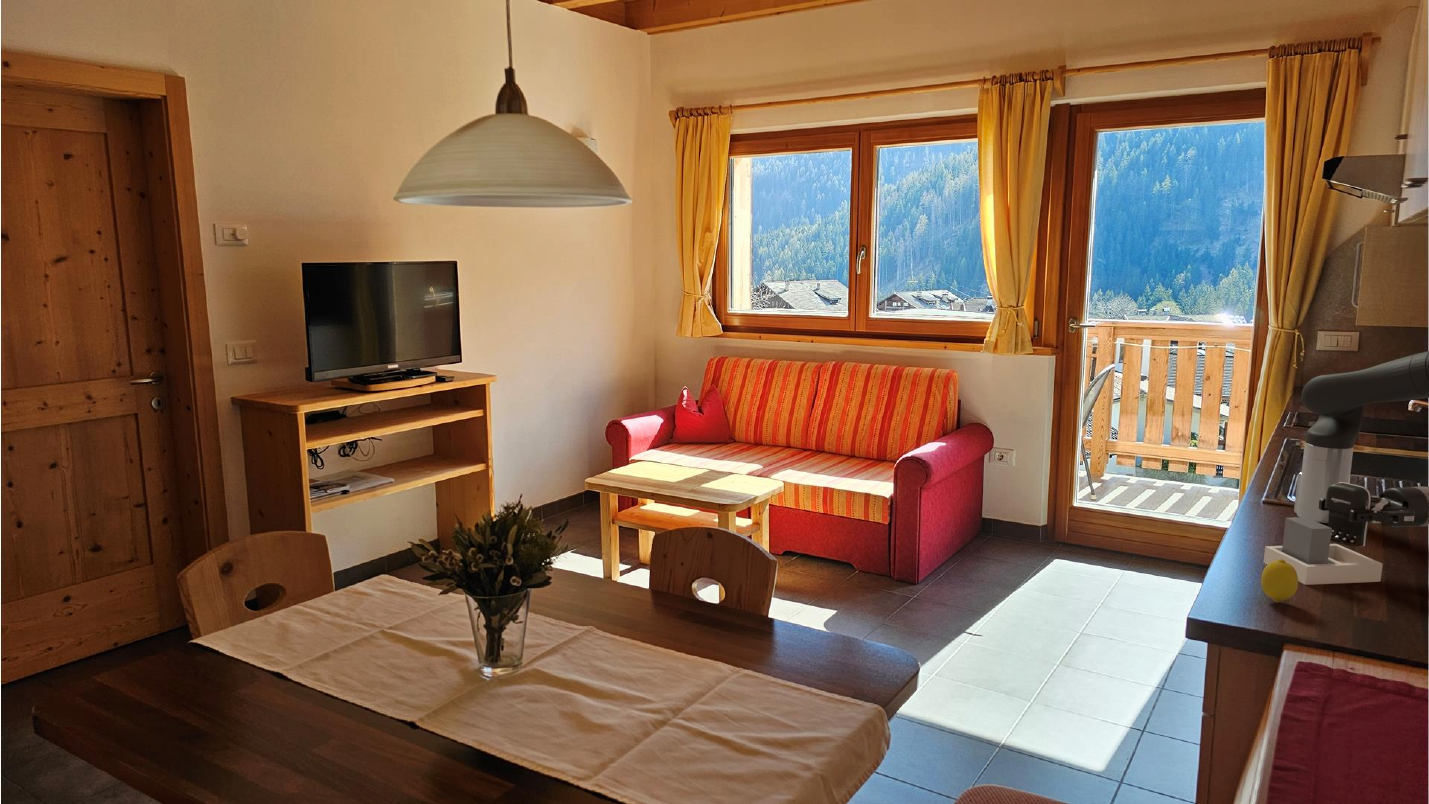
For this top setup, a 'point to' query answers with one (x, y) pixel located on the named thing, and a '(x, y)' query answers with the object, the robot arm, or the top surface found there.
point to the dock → (1332, 568)
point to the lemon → (1279, 580)
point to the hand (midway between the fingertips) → (1335, 510)
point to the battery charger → (1347, 513)
